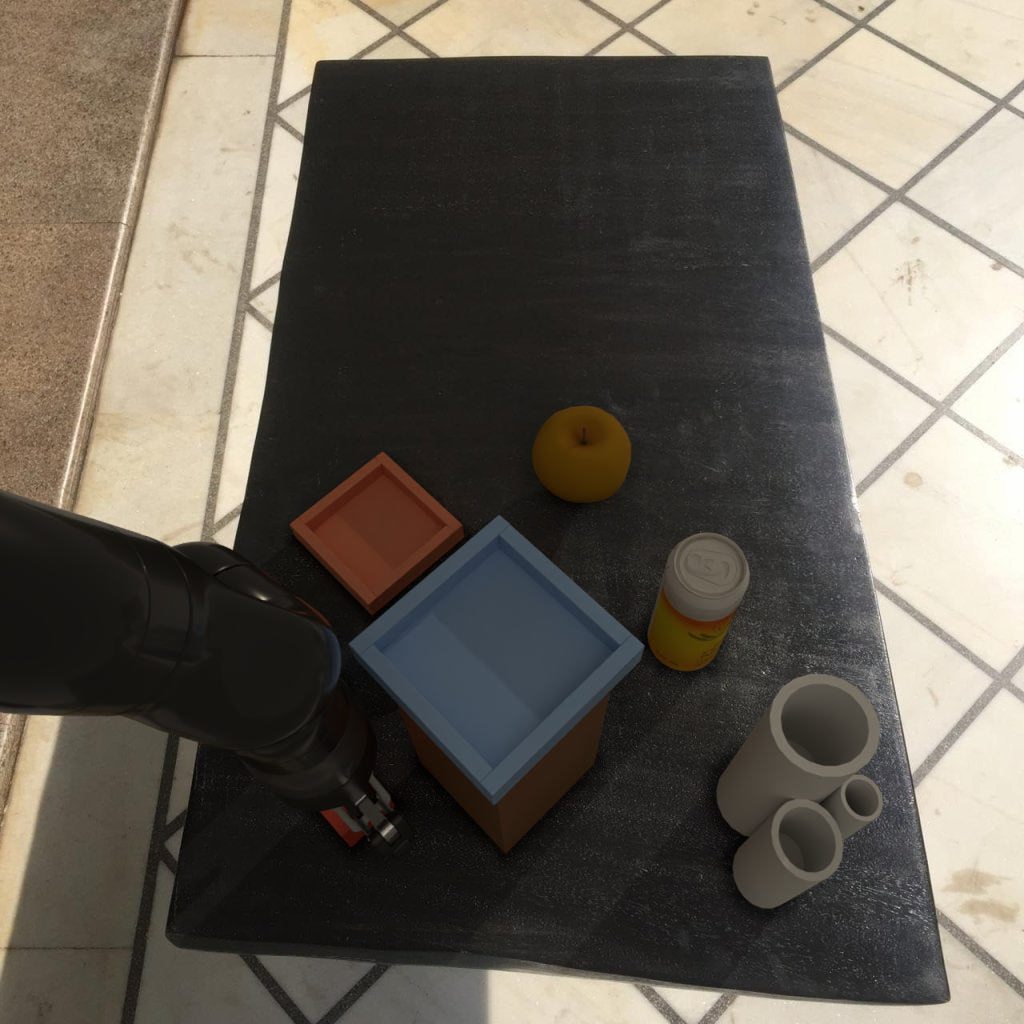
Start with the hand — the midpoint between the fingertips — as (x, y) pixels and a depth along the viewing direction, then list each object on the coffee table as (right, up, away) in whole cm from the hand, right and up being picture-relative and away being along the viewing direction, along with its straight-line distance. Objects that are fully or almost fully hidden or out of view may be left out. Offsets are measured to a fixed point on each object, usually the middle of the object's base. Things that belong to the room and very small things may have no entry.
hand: (352, 792), depth 74 cm
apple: (+19, +24, +17) cm, 35 cm away
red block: (0, -2, +3) cm, 3 cm away
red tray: (0, +19, +14) cm, 24 cm away
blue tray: (+12, +1, +4) cm, 13 cm away
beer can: (+27, +10, +9) cm, 30 cm away
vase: (+32, -3, +2) cm, 33 cm away
